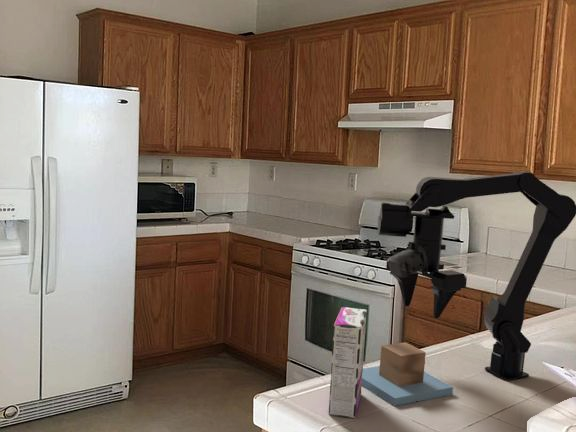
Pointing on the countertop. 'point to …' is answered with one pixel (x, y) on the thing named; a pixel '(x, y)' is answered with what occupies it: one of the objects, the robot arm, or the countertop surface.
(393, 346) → the walnut cube
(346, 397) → the candy bar box
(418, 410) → the countertop surface
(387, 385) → the slate board
